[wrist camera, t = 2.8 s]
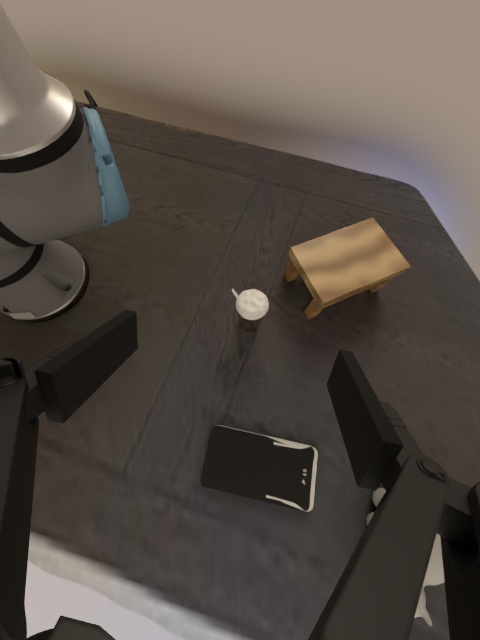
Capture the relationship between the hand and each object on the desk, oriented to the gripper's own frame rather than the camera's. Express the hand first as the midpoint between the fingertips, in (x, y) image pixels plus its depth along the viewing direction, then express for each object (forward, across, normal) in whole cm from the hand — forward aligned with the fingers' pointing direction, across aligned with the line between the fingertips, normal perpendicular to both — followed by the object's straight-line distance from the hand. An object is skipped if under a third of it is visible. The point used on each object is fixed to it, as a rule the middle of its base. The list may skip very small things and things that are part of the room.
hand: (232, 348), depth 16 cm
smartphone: (+10, +5, -24) cm, 26 cm away
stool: (+31, +14, -2) cm, 34 cm away
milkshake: (+24, 0, -9) cm, 26 cm away
